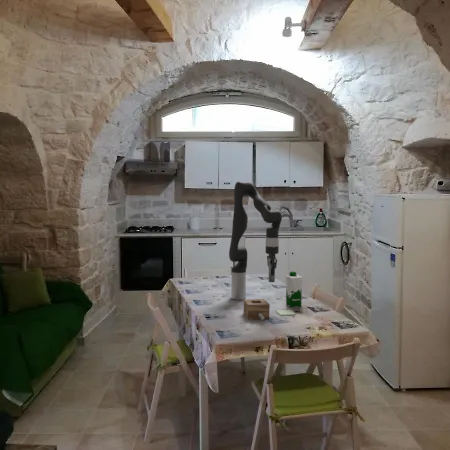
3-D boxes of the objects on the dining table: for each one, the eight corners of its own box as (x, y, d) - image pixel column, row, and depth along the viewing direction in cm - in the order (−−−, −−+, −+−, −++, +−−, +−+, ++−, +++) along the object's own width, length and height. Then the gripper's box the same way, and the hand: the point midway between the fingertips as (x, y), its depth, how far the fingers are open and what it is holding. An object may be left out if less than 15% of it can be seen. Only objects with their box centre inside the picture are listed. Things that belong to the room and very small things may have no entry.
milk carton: (297, 303, 288) (297, 271, 287) (303, 306, 280) (304, 274, 278) (284, 303, 286) (284, 271, 284) (290, 307, 277) (290, 274, 276)
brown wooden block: (243, 313, 265) (243, 299, 264) (263, 312, 267) (264, 298, 266) (251, 324, 244) (251, 309, 243) (273, 323, 246) (273, 308, 245)
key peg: (266, 280, 272) (267, 258, 271) (274, 280, 273) (274, 258, 272) (268, 282, 268) (269, 259, 266) (276, 282, 268) (276, 259, 267)
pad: (275, 311, 269) (275, 310, 269) (290, 310, 271) (290, 309, 271) (280, 315, 260) (280, 314, 260) (295, 315, 262) (295, 314, 262)
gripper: (262, 243, 275) (262, 272, 276) (269, 247, 261) (268, 277, 262) (275, 243, 276) (274, 272, 278) (281, 246, 262) (281, 276, 264)
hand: (271, 274), depth 270 cm, fingers closed on key peg, 3 cm apart
